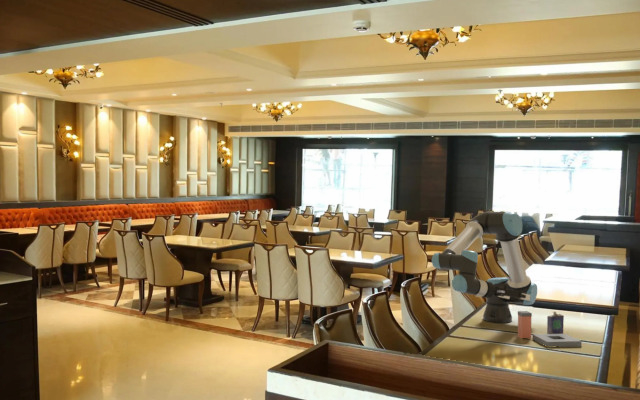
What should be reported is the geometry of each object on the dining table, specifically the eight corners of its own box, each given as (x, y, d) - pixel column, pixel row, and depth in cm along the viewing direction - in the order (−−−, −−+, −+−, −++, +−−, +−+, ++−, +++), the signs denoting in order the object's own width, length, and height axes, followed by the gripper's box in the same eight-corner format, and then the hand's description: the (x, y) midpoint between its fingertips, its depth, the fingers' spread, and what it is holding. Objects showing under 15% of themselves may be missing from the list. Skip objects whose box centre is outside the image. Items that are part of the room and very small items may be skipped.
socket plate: (532, 339, 262) (532, 334, 262) (565, 339, 263) (565, 333, 263) (547, 347, 248) (547, 341, 248) (581, 346, 249) (581, 341, 249)
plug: (517, 336, 268) (517, 311, 268) (527, 336, 268) (527, 311, 268) (522, 339, 263) (522, 313, 263) (531, 338, 263) (531, 313, 263)
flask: (549, 334, 271) (549, 312, 271) (545, 333, 274) (545, 311, 274) (564, 333, 274) (564, 311, 274) (560, 332, 277) (560, 310, 277)
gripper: (465, 295, 268) (500, 303, 276) (500, 298, 245) (537, 306, 253) (467, 280, 270) (502, 288, 277) (502, 281, 247) (539, 290, 254)
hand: (519, 297), depth 265 cm, fingers open, 13 cm apart
